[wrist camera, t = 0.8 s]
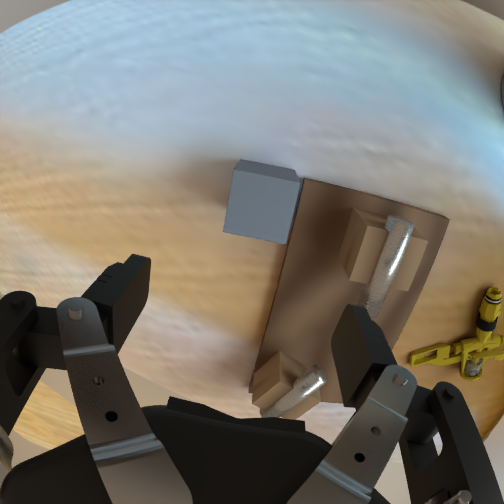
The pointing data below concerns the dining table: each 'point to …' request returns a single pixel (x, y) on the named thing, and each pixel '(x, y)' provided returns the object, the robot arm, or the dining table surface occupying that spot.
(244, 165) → the block
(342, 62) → the dining table surface
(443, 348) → the sprinkler
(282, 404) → the shaft
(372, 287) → the shaft
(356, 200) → the base board
